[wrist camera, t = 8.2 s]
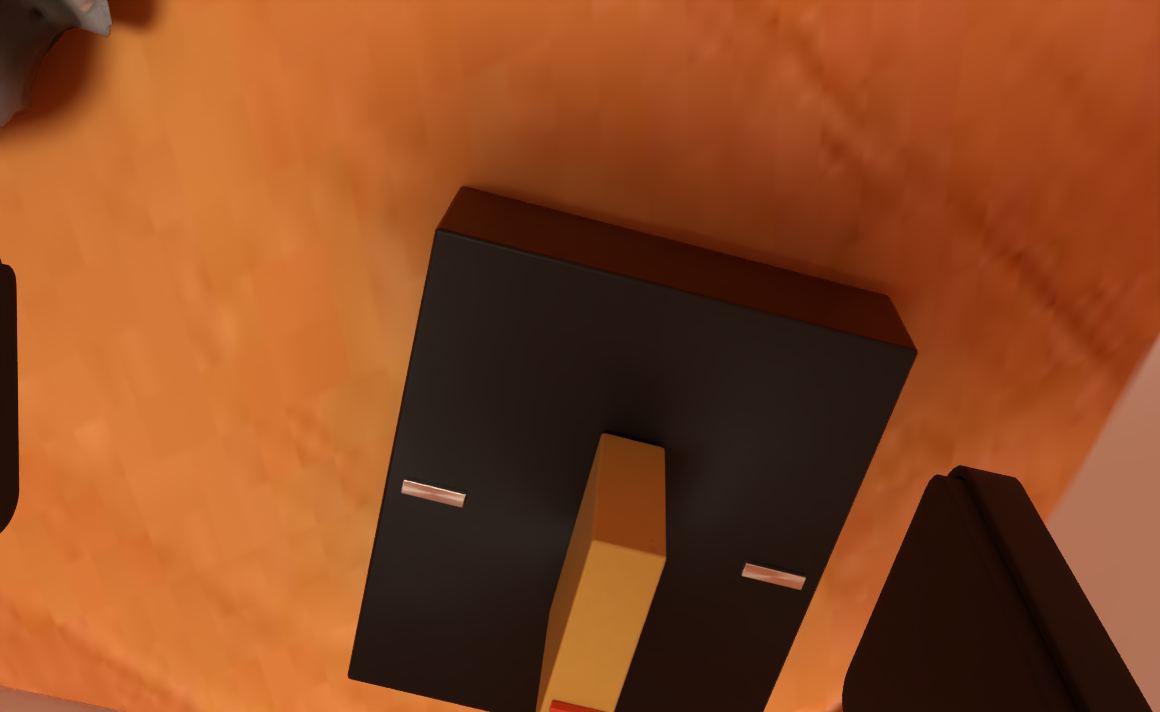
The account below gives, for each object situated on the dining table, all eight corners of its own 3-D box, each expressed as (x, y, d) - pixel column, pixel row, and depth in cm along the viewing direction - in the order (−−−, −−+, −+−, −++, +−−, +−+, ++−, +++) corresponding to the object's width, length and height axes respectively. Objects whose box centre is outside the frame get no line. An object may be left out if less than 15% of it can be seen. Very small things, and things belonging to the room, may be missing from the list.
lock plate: (890, 295, 24) (921, 354, 21) (731, 686, 29) (739, 776, 27) (460, 184, 24) (433, 230, 21) (375, 601, 29) (344, 684, 26)
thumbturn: (602, 430, 23) (590, 548, 19) (665, 446, 23) (668, 567, 19) (549, 612, 25) (529, 750, 21) (607, 625, 25) (598, 766, 21)
